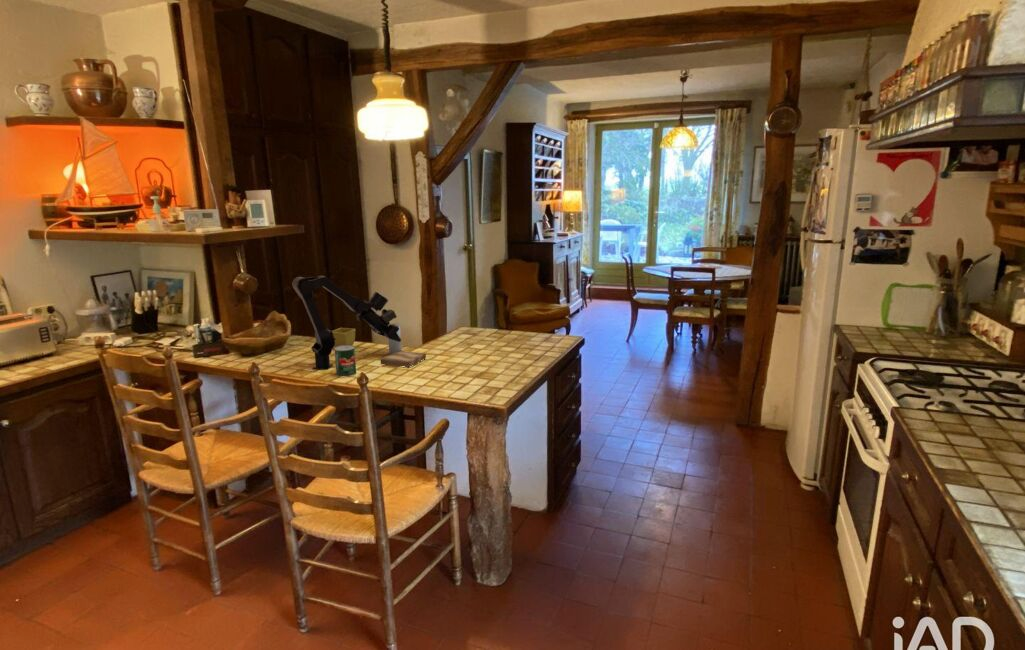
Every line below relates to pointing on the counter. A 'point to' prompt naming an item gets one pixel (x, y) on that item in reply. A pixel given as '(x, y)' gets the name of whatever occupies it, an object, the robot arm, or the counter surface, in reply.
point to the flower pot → (344, 336)
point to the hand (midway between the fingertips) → (397, 339)
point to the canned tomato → (345, 360)
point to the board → (403, 358)
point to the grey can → (395, 342)
